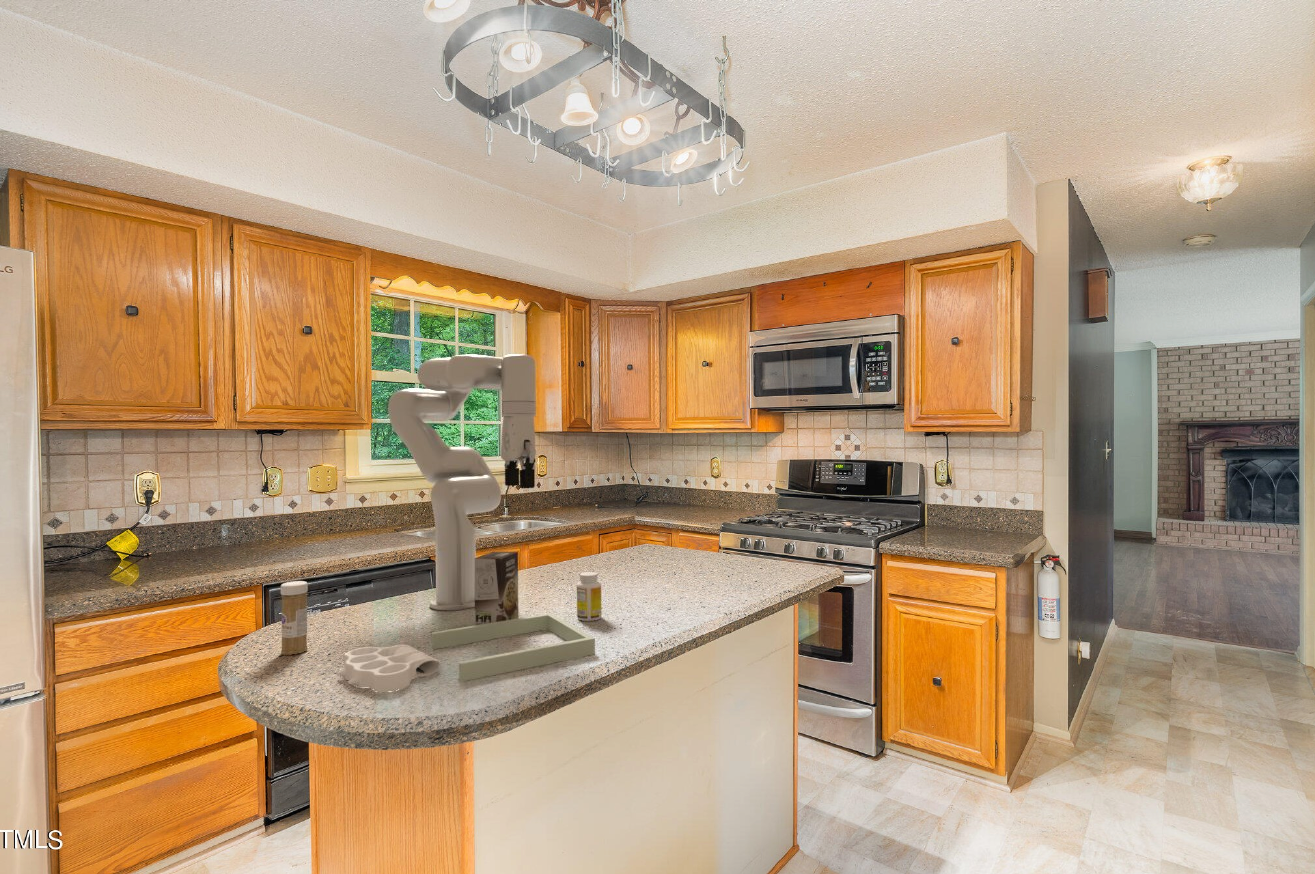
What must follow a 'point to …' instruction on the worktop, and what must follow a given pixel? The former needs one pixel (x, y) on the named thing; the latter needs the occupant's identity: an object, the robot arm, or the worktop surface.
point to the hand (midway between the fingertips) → (519, 486)
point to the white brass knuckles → (386, 667)
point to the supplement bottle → (588, 597)
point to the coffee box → (496, 587)
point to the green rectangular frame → (517, 660)
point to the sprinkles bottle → (294, 617)
